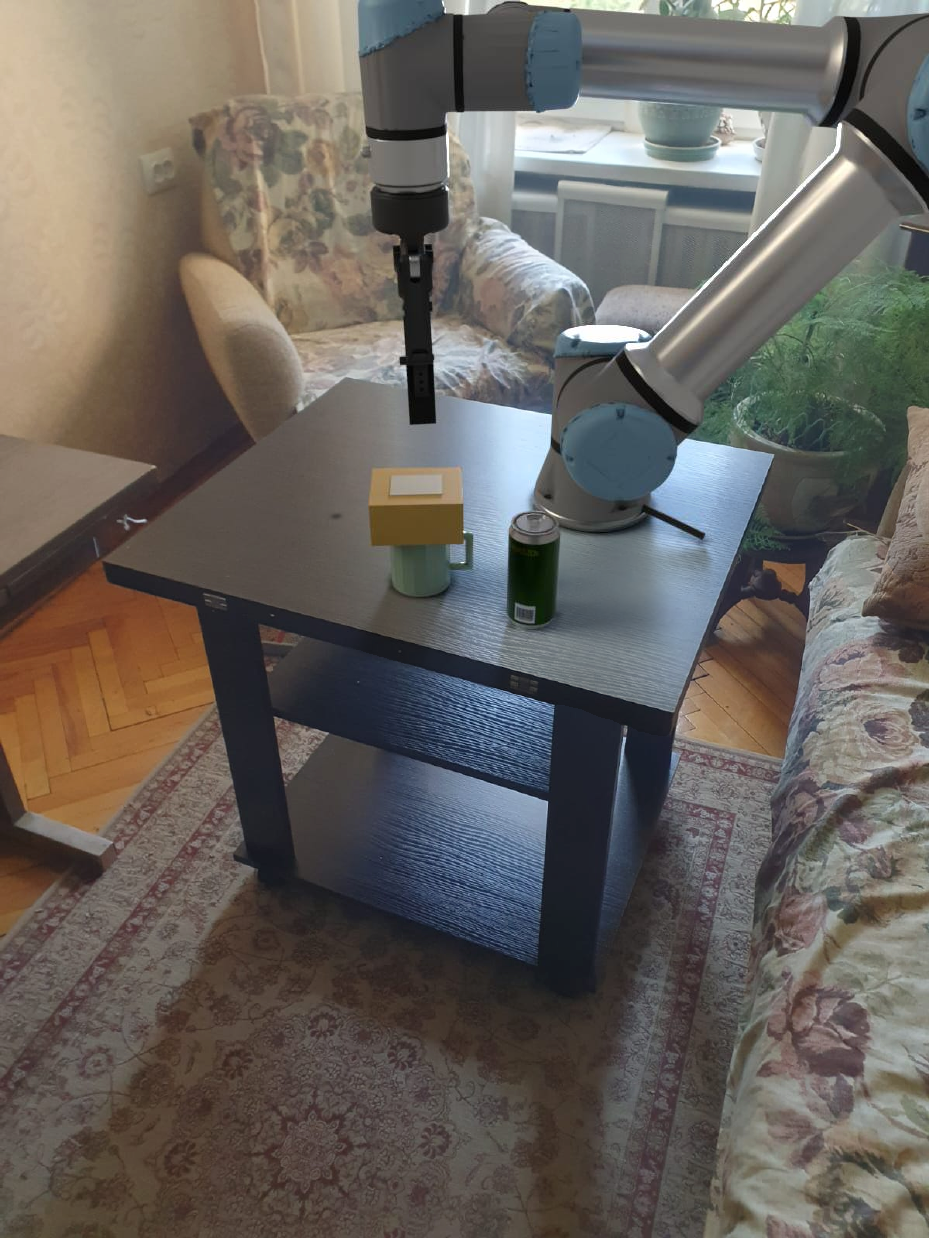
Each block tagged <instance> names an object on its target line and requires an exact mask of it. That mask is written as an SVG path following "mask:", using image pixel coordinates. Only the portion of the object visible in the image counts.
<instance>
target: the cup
mask: <svg viewBox="0 0 929 1238" xmlns="http://www.w3.org/2000/svg"><path fill="white" fill-rule="evenodd" d="M464 544H465V545H464V546H465V547H464V550H465V553H464V556H465V559H464V560H465V561H464V562H451V544H444V545H394V546H389V557H390V570H391V571H390V572H391V582H392V586H393V588H394V589H395V590H396V591H397V592H399V594H403V595H405V596H408V597H414V598H427V597H432V596H436V595H438V594H441V593H443V592H444V591H445V590H446V589H448V587H449V586H450V584H451V581H452V580H451V577H452V576H451V575H452V574H451V571H471V570H473V568H474V533H473V532H472V531H464Z"/></svg>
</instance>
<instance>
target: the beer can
mask: <svg viewBox="0 0 929 1238" xmlns="http://www.w3.org/2000/svg"><path fill="white" fill-rule="evenodd" d="M560 545H561V528H560V525H559V523H558V520H557V518H556V517H554V516H553V515H551V514H549V513H546V512H542V511H537V510H527V511H522V512H519V513H517V514H515V515H514V516H512V518H511V520H510V526H509V528H508V540H507V577H506V579H507V581H506V615H507V617H508V618H509V620H510V622H511V623H512V624H513V625H514V626H516V627H517V628H520V629H524V630H539V629H543V628H545V627H547V626H549V625H550V624H551V622H552V621H553V619H554V617H555V615H556V612H557V611H556V610H557V593H558V580H559V579H558V578H559V561H560V547H561V546H560Z"/></svg>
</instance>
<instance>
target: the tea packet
mask: <svg viewBox="0 0 929 1238" xmlns="http://www.w3.org/2000/svg"><path fill="white" fill-rule="evenodd" d="M462 472H463V469H462V467H461V466H437V467H436V466H435V467H434V466H433V467H429V466H428V467H385V468H384V467H383V468H382V467H381V468H380V467H379V468H378V467H377V468H376V467H375V468H374V467H373V468H372V470H371V478H370V487H369V496H368V505H367V506H368V517H369V518H368V519H369V532H370V545H371V547H384V546H385V547H386V546H387V547H388V546H389V547H390V546H394V545H444V544H450V545H464V544H465V540H464V532H465V530H464V527H465V526H464V493H463V492H464V490H463V475H462V474H463V473H462Z"/></svg>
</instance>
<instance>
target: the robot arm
mask: <svg viewBox="0 0 929 1238" xmlns="http://www.w3.org/2000/svg"><path fill="white" fill-rule="evenodd" d="M357 25H358V29H357V30H358V51H357V55H358V60H359V73H360V83H361V84H360V85H361V95H362V107H363V115H364V126H365V135H366V143H367V146H362V147H360V152H359V153H360V156H361V158H363V159H369V160H368V162H367V163H368V164H367V165H368V176H369V177H368V178H369V181H370V182H372V183H373V184H374V186H372V188H371V190H370V192H369V198H370V210H371V223H372V226H373V228H374V229H375V230H376V231H377V232H379V233H381V234H384V235H388V236H393V235H396V236H397V237H399V244H395V245H392V256H393V257H392V260H393V261H392V262H393V270H394V272H395V273H396V281H397V284H396V285H397V295H398V297H399V298H400V299H402V301H403V303H402V306H401V307H402V311H403V314H404V315H402V322H403V337H404V352H405V356H399V357H398V359H399V366H405V370H406V371H405V372H406V386H407V387H406V388H407V389H406V390H407V401H408V402H407V405H408V418H409V426H418V425H434V424H435V425H436V424H437V412H436V410H437V409H436V389H435V387H436V386H435V364H434V363H435V354H434V353H433V352H434V351H433V336H432V335H433V334H432V318H431V313H433V312H434V311H433V309H434V307H433V301H432V300H431V301H430V298H431V297H432V296H433V295H434V284H433V283H434V282H433V270H434V269H435V259H434V257H435V256H434V250H433V244H432V243H425V236H427V235H429V234H436V233H439V232H442V231H443V230H445V229H446V228H448V226H449V225H450V223H451V214H450V213H451V211H450V209H451V208H450V188H449V187H447V185H446V184H445V183H444V182H447V180H448V179H449V177H450V161H449V159H450V158H449V157H450V156H449V133H448V125H447V124H448V123H447V117H448V113H465V112H535V113H536V114H542V113H544V112H546V111H557V110H567V109H570V108H572V107H573V106H575V104H576V103H577V101H578V99H579V98H590V99H591V98H592V99H605V100H616V101H629V102H640V103H641V102H642V103H654V104H666V105H677V106H679V105H680V106H690V107H691V106H692V107H703V108H704V107H705V108H716V109H717V108H719V109H728V110H741V111H742V110H743V111H753V112H754V111H755V112H768V113H781V114H793V115H801V116H802V117H803V118H804V119H805V121H806V123H807V125H808V126H810V127H815V128H816V127H817V128H827V129H828V128H829V129H836V130H837V135H836V146H835V148H834V150H833V153H831V154H830V156H828V157H827V159H826V160H825V161H824V162H823V163H821V165H820V166H819V167H818V168H817V169H816V170H815V171H814V172H813V173H812V174H811V175H810V176H809V177H808V178H807V179H806V180H805V181H804V182H803V183H802V184H801V185H800V186H799V187H798V188H797V189H796V191H794V192H793V194H792V195H791V196H790V197H789V198H788V199H786V201H784V203H783V204H782V205H781V206H780V207H779V208H778V209H777V210H776V211H775V212H774V213H773V214H772V215H771V216H770V217H769V218H768V219H767V220H766V221H765V222H764V223H763V224H762V225H761V226H760V227H759V228H758V230H757V231H756V232H754V233H753V234H752V235H751V237H750V238H749V239H748V240H747V241H746V242H745V243H744V244H743V245H742V246H741V247H740V248H739V249H738V250H737V251H736V252H735V253H734V254H733V255H732V256H731V257H730V258H729V259H728V260H727V261H726V262H725V263H724V264H723V265H722V267H720V268H719V269H718V270H717V272H716V273H714V275H713V276H712V277H711V278H710V279H709V280H708V281H707V282H706V283H705V284H704V285H703V286H702V287H701V288H700V289H699V290H698V291H697V292H696V293H695V294H694V295H693V296H692V297H691V298H690V300H688V301H687V303H685V305H684V306H683V307H681V308H680V310H679V311H678V312H677V313H676V314H675V315H674V316H672V318H670V319H669V321H668V322H667V323H665V325H664V326H663V327H662V328H661V329H660V330H659V331H658V332H657V333H656V334H655V335H654V336H652V335H651V334H650V333H649V332H646V331H645V330H642V329H638V328H634V327H629V326H622V325H605V324H603V325H602V324H601V325H599V324H598V325H597V324H596V325H582V326H577V327H572V328H568V329H566V330H564V331H562V332H561V333H560V334H559V335H558V336H557V338H556V342H555V348H554V349H555V350H554V353H553V354H552V355H553V357H552V359H554V370H553V371H554V372H553V388H552V406H551V407H552V409H551V422H550V429H551V430H550V445H549V449H548V450H547V451H548V452H547V454H546V456H545V459H544V462H543V463H542V466H541V469H540V471H539V474H538V476H537V478H536V481H535V484H534V487H533V488H534V489H533V505H534V508H535V509H536V510H535V511H542V512H546V513H549V514H551V515H553V516H554V517H556V518H557V520H558V523H559V527H563V528H566V529H570V530H574V531H575V530H576V531H580V532H581V531H582V532H589V533H591V532H592V533H605V532H614V531H619V530H624V529H626V528H630V527H632V526H634V525H636V524H638V523H641V521H643V520H644V519H645V518H646V517H647V515H649V516H651V517H654V518H655V519H657V520H660V521H662V522H664V523H666V524H668V525H670V526H673V527H675V528H676V529H679V530H681V531H682V532H685V533H686V534H688V535H691V536H692V537H695V538H696V539H699V540H701V541H703V540H704V538H705V537H706V533H705V532H703V530H699V529H698V528H696V527H694V526H691V525H689V524H687V523H685V522H683V521H681V520H680V519H678V518H674V517H672V516H670V515H668V514H666V513H664V512H662V511H660V510H658V509H655V508H653V507H651V502H652V500H651V499H652V493H653V492H654V491H656V490H657V489H658V488H659V487H661V486H662V485H663V484H664V483H665V482H666V481H667V480H668V478H669V477H670V475H671V473H672V471H673V469H674V467H675V465H676V461H677V457H678V447H679V446H680V445H681V444H682V443H683V442H684V441H685V440H686V439H687V438H688V437H689V436H690V435H692V433H694V432H695V430H697V429H698V428H699V427H700V426H701V425H702V424H703V422H704V415H705V410H704V409H705V404H706V402H707V399H709V398H710V396H711V395H713V394H714V393H715V392H716V391H717V390H718V389H719V388H720V387H721V386H722V385H723V384H724V383H726V382H727V380H729V379H730V378H731V376H733V375H734V374H735V373H736V372H737V371H738V370H739V369H740V368H741V367H742V366H743V365H744V364H745V363H746V362H747V361H749V359H751V358H752V357H753V356H754V355H755V354H756V353H757V352H758V351H759V350H760V349H761V348H762V347H763V346H764V345H765V344H766V343H767V342H768V341H769V340H770V339H771V338H773V337H774V336H775V335H776V334H777V333H778V332H779V331H780V330H781V329H782V328H783V327H784V326H785V325H787V323H788V322H789V321H791V319H793V318H794V317H795V316H796V315H797V314H798V313H799V312H800V311H801V310H802V309H803V308H804V307H805V306H806V305H807V304H808V303H809V302H810V301H812V300H813V299H814V298H815V297H816V296H817V295H818V294H820V292H821V291H822V290H824V288H826V286H827V285H828V284H829V283H831V281H833V280H834V279H835V278H836V277H837V276H838V275H839V274H840V273H841V272H842V271H843V270H844V269H845V268H846V267H847V266H848V265H849V264H850V263H852V262H853V261H854V259H856V258H857V257H858V256H860V254H861V253H862V252H863V251H864V250H866V248H868V246H869V245H870V244H872V243H873V241H875V240H876V239H877V238H878V237H879V236H880V235H881V234H882V233H883V232H884V231H885V230H886V229H888V228H889V226H891V224H892V223H894V222H895V221H896V220H897V219H899V218H900V217H905V216H907V217H908V216H920V215H926V214H927V213H928V211H929V12H923V13H921V12H920V13H910V14H899V15H887V16H886V15H884V16H844V15H834V16H832V17H831V18H830V19H829V20H828V21H827V22H825V24H823V25H821V26H815V25H814V26H813V25H800V24H786V23H777V22H776V23H775V22H774V23H773V22H763V21H760V22H759V21H749V20H748V21H747V20H735V19H722V18H721V19H720V18H711V17H710V18H708V17H696V16H693V17H692V16H681V15H671V14H670V15H669V14H657V13H644V12H630V11H617V10H603V9H592V8H591V9H590V8H576V7H569V8H567V7H560V6H548V5H536V4H529V3H527V2H525V1H521V0H504V1H502V2H501V3H499V4H498V3H497V4H495V5H494V6H492V7H491V8H490V9H489V10H488V11H487V12H486V13H477V14H462V13H458V14H457V13H454V12H446V6H445V5H444V0H358V3H357Z"/></svg>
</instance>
